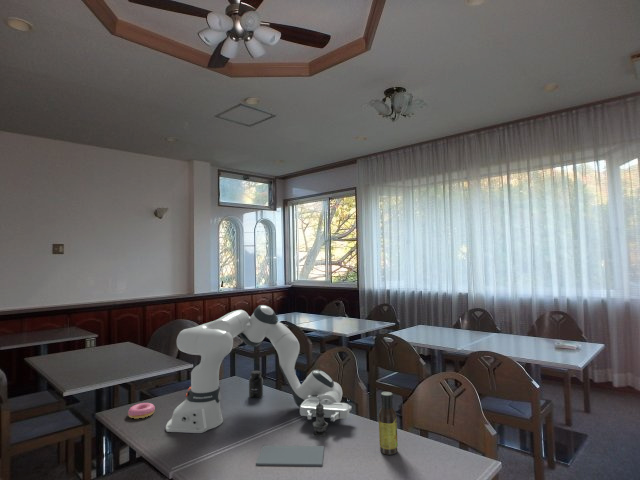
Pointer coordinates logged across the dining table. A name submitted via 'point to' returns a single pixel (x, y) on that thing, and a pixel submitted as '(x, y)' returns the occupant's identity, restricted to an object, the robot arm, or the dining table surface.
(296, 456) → the mat
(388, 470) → the dining table surface
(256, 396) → the supplement bottle
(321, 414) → the dark carved figurine
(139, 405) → the doughnut
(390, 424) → the sauce bottle
